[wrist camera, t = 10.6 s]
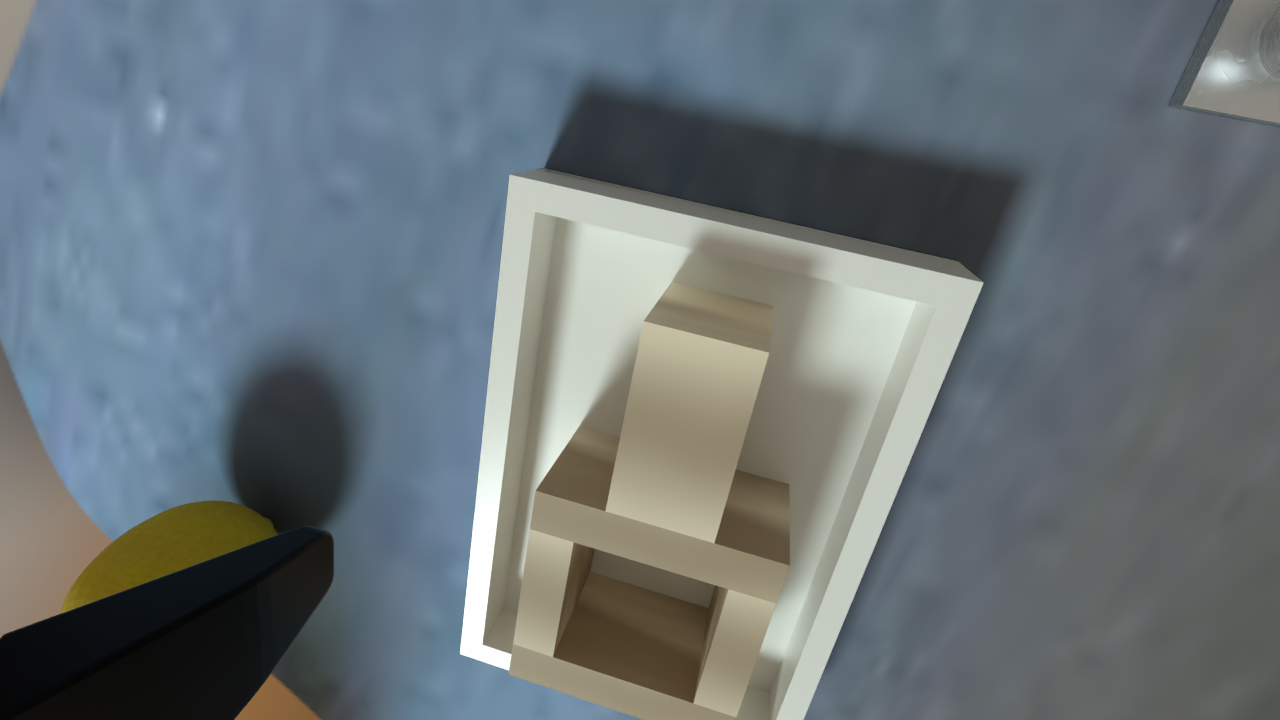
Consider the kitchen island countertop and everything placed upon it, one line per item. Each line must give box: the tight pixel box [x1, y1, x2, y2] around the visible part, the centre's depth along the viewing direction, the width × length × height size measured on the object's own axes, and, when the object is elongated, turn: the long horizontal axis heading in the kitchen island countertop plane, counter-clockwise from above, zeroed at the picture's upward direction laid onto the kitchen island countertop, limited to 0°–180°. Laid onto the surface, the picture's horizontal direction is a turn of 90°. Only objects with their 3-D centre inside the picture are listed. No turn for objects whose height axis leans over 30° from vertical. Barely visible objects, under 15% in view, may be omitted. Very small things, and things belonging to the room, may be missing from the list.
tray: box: [460, 168, 983, 720], centre depth 20 cm, size 17×12×2 cm
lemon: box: [61, 501, 278, 613], centre depth 23 cm, size 6×6×8 cm
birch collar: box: [509, 282, 790, 720], centre depth 19 cm, size 12×7×4 cm, turn 169°
